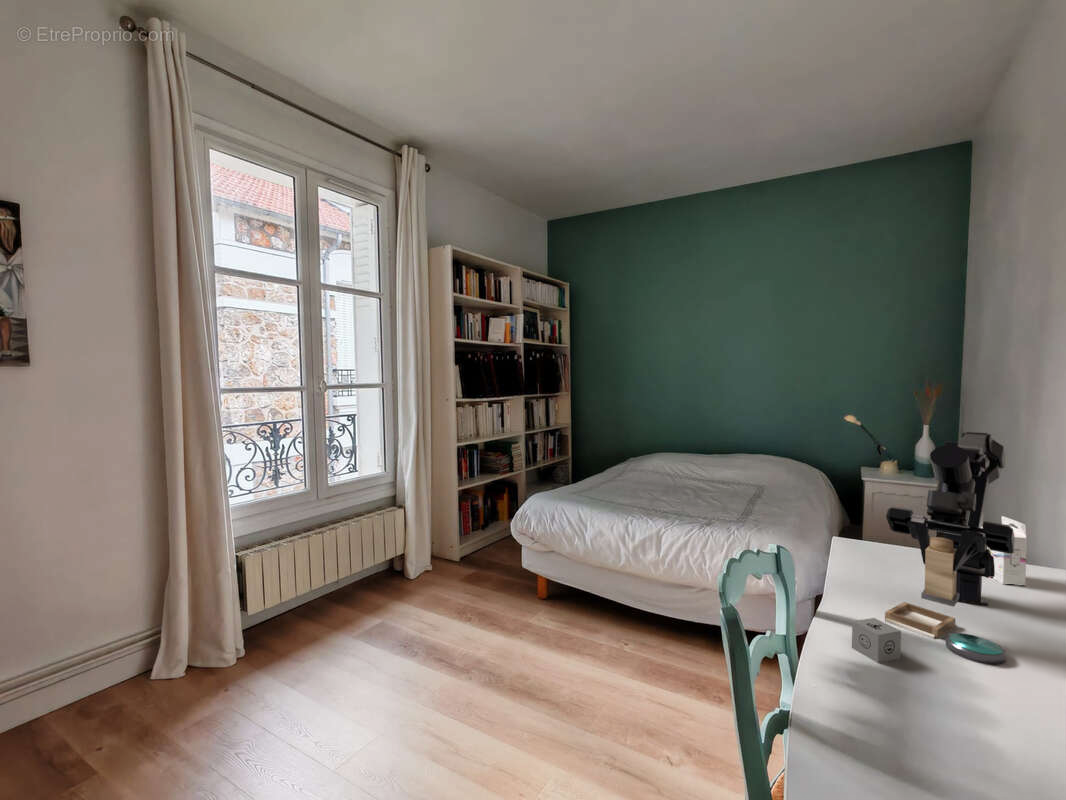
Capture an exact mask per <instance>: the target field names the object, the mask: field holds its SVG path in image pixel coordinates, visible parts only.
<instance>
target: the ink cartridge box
mask: <svg viewBox="0 0 1066 800" xmlns="http://www.w3.org/2000/svg"><path fill="white" fill-rule="evenodd" d="M1001 524H1004V525H1009V526H1010V527H1011V528H1012V529H1013V532H1014V540H1015V544H1014V553H1010V554H1009V553H1004V552H998V551H993V550H990V549H989V548H988V547H987V549H989V550H990V553H991V555H992V556H993V557H994V565H995V576H994V577H993V578H994V579H996V580H998V581H999V582H1001V583H1003V584H1002V585H1005V584H1018V585H1017V586H1019V585H1020V584H1021V585H1025V586H1026V580H1027V579H1026V578H1027V577H1026V573H1027V550H1028V548H1027V546H1028V538H1027V526H1026V524H1024V523H1022V522H1020V521H1017V520H1014V519H1012V518H1009V517H1006V516H1003V515H1002V516H1001ZM1012 525H1014V526H1016V527H1017V528H1016V527H1014V526H1012ZM982 529H983V526H982ZM994 579H993V580H994ZM996 580H995V581H996ZM999 582H998V583H999ZM1001 583H1000V584H1001Z"/></svg>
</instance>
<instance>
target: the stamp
mask: <svg viewBox="0 0 1066 800" xmlns="http://www.w3.org/2000/svg"><path fill="white" fill-rule="evenodd" d="M929 538H930V545H929V546H928V547H927V548H926V549H925V564H924V589H923V591H922V592H921V595H920V597H921V598H920V599H924V600H927V601H931V602H934V603H938V604H942V605H945V606H949V607H955V606H956V604H957V602H959V601H958V600H959V593H956V579H957V571H953V563H954V558H955V555H956V552H957V549H953V541H952V540H950V539H946V538H943V537H940V536H938V537H937V536H931V537H929Z"/></svg>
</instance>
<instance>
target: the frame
mask: <svg viewBox="0 0 1066 800" xmlns="http://www.w3.org/2000/svg"><path fill="white" fill-rule="evenodd" d="M884 615H885V616H884V621H885V623H886V622H887V623H889V624H892V625H894V626H898V627H900V628H904V629H905V630H908V631H912V632H914V633H918V634H920V635H923V636H926V637H928V638H931V639H938V638H940V637H941V636H942V635H944V634H946V633H947V632H949V631H950V630H953V628H955V627H956V617H952V616H950V615H947V614H943V613H940V612H936V611H934V610H931V609H928V608H925V607H921V606H919V605H915V604H912V603H909V602H906V601H903V602H902V603H899V604H897V605H896V606H894V607H891V608H890V609H888V610H886V611H884Z"/></svg>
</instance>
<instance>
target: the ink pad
mask: <svg viewBox="0 0 1066 800" xmlns="http://www.w3.org/2000/svg"><path fill="white" fill-rule="evenodd" d="M945 647H946V648H947V650H949V651H950V652H952V653H953V654H955V655H957V656H959V657H961V658H963V659H965V660H969V661H972V662H975V663H979V664H983V665H992V666H999V665H1004V664H1006V662H1007V651H1006V649H1005V648H1004V647H1002V646H1001V645H1000V644H998V643H995V642H994V641H992V640H989V639H987V638H984V637H981V636H978V635H972V634H968V633H962V632H952V633H948V634H946V636H945Z"/></svg>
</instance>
